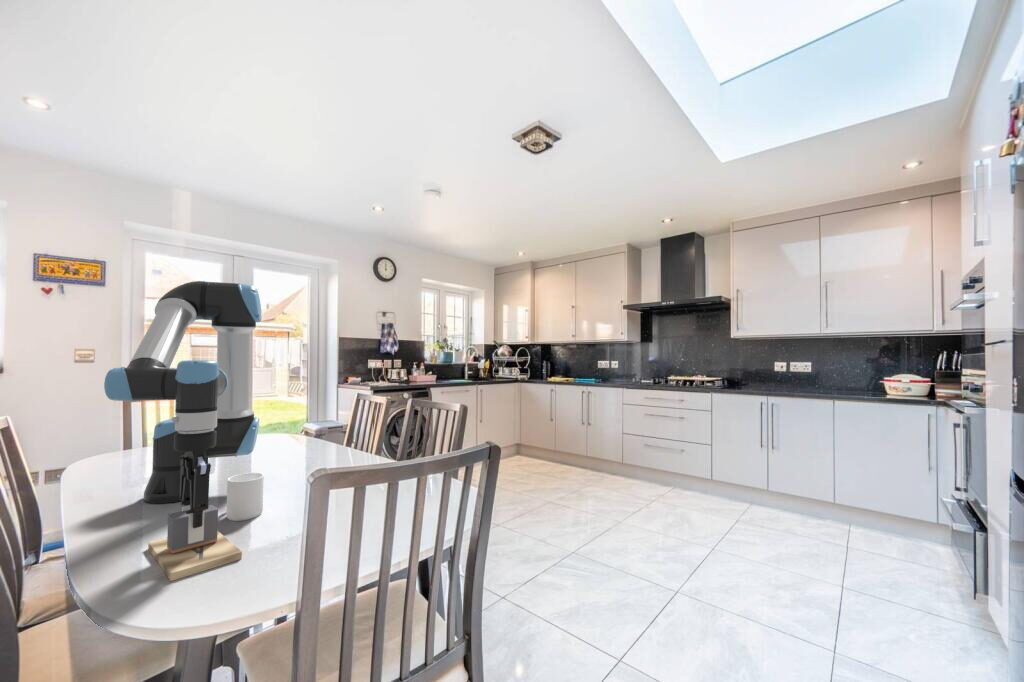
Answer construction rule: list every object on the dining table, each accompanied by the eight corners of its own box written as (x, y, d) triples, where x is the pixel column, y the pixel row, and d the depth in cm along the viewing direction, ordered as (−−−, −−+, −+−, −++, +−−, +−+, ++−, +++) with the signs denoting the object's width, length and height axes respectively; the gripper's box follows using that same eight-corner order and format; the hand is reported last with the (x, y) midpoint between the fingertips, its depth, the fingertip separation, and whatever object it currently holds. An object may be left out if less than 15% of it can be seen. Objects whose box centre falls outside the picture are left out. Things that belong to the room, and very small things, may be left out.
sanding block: (167, 547, 92) (168, 514, 93) (211, 535, 98) (212, 504, 99) (172, 553, 89) (173, 519, 90) (217, 541, 96) (218, 509, 96)
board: (148, 548, 95) (148, 541, 95) (212, 532, 104) (212, 525, 104) (170, 581, 82) (171, 573, 82) (241, 558, 91) (241, 551, 91)
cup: (233, 523, 109) (235, 483, 110) (215, 512, 117) (217, 474, 117) (268, 514, 116) (269, 476, 116) (249, 504, 123) (250, 468, 123)
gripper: (164, 427, 97) (161, 532, 97) (185, 438, 86) (181, 556, 85) (204, 423, 103) (201, 522, 102) (228, 433, 92) (225, 544, 91)
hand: (192, 537), depth 94 cm, fingers closed on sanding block, 4 cm apart
